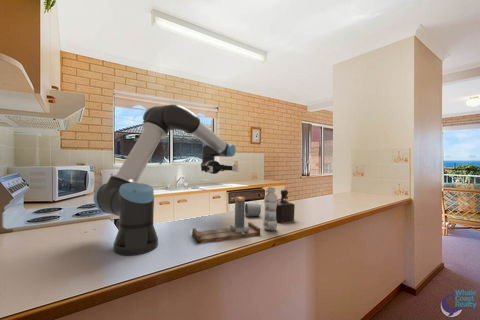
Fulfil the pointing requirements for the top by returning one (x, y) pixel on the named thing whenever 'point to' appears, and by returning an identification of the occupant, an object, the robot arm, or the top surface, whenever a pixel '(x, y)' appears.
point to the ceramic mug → (252, 209)
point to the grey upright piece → (239, 216)
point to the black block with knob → (284, 208)
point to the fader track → (223, 234)
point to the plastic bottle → (270, 209)
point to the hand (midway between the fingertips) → (225, 169)
